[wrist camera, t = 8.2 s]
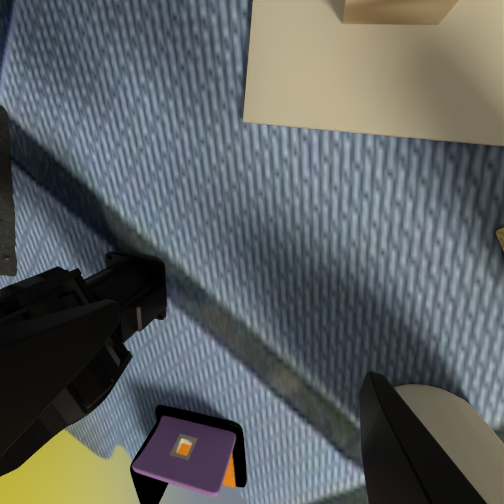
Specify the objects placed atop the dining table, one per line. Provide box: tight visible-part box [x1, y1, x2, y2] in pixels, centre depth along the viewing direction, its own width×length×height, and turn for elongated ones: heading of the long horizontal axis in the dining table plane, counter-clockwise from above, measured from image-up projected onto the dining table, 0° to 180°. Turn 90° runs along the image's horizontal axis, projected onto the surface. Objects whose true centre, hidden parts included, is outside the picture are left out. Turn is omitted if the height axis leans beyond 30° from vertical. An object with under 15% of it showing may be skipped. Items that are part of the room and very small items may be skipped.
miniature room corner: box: [130, 405, 247, 504], centre depth 30 cm, size 12×12×7 cm
